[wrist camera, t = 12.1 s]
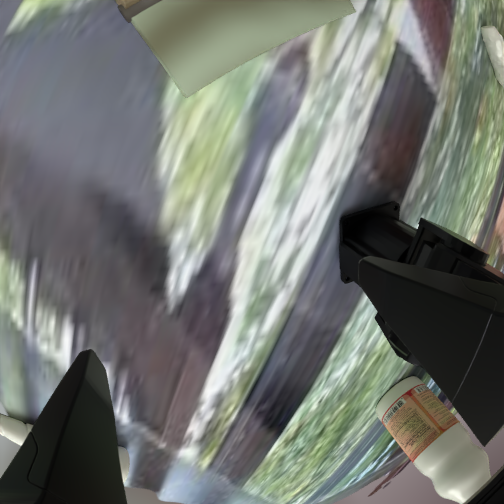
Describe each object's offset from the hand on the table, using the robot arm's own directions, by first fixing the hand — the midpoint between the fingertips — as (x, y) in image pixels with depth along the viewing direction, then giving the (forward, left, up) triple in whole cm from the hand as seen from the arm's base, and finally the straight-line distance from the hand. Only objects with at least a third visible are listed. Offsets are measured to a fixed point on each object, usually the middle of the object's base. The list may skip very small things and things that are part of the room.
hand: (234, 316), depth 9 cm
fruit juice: (-24, +40, -13) cm, 49 cm away
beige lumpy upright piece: (-40, -10, -13) cm, 43 cm away
